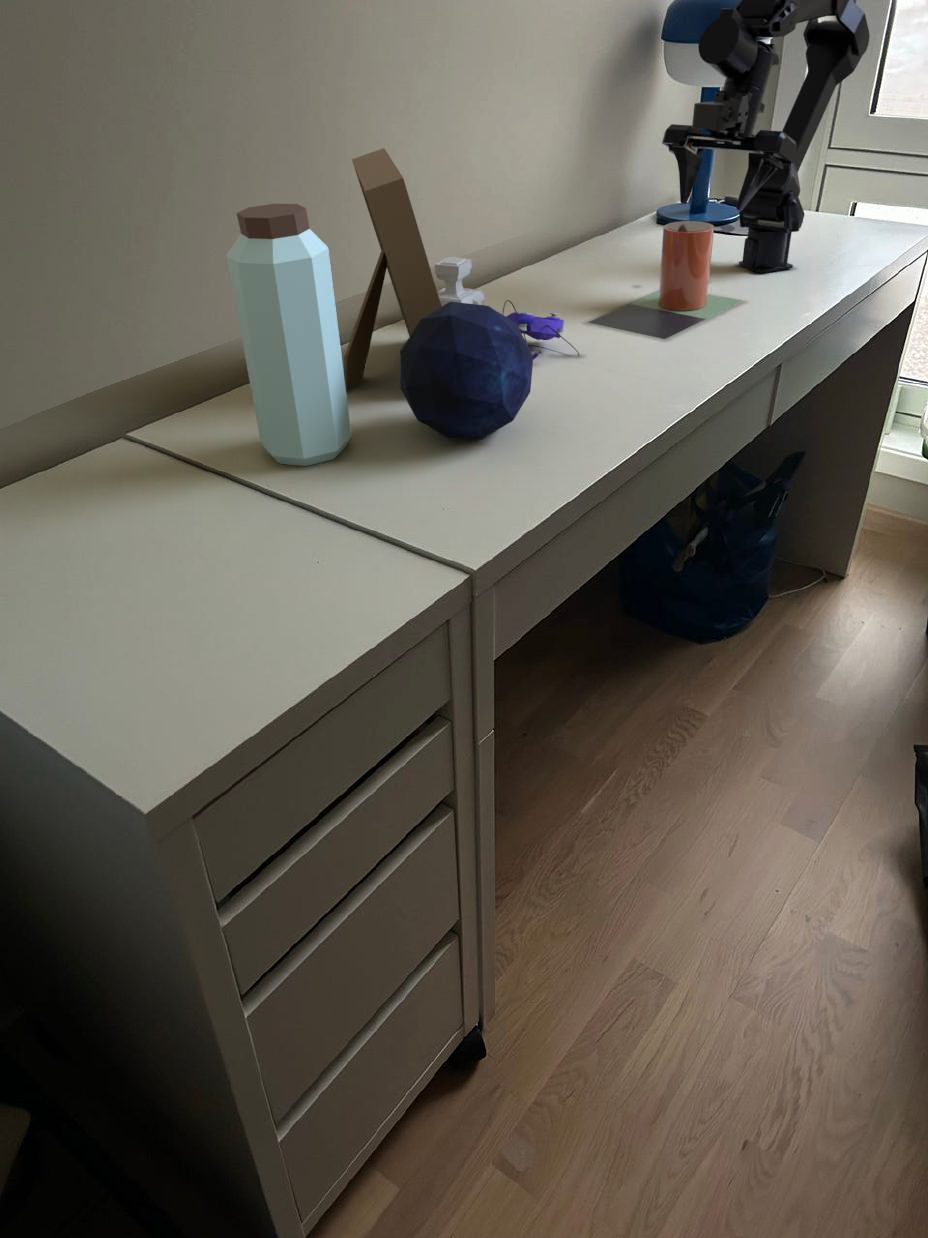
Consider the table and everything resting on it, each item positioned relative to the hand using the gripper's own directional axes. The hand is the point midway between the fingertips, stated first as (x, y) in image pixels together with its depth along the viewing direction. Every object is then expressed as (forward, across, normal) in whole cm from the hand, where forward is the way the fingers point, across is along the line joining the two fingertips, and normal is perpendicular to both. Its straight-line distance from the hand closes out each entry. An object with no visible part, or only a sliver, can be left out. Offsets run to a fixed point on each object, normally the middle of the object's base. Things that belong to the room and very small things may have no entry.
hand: (710, 206), depth 138 cm
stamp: (+24, -24, -22) cm, 40 cm away
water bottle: (+41, -5, -63) cm, 75 cm away
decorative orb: (+35, +6, -49) cm, 61 cm away
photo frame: (+32, -16, -41) cm, 54 cm away
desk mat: (+16, 0, -4) cm, 16 cm away
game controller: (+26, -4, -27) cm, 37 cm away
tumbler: (+14, 0, 0) cm, 14 cm away
